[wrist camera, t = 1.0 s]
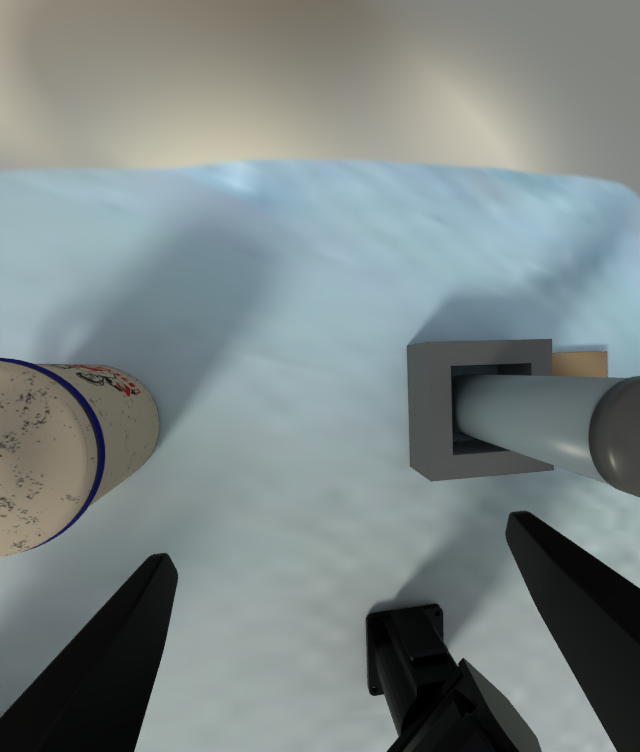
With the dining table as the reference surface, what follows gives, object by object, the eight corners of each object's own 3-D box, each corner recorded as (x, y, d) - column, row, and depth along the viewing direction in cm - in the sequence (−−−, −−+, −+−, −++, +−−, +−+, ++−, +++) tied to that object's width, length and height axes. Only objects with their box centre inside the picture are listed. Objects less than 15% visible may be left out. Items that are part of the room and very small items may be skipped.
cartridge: (492, 431, 27) (718, 496, 13) (436, 435, 27) (613, 508, 13) (491, 371, 27) (718, 374, 13) (434, 373, 26) (612, 379, 13)
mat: (602, 439, 29) (608, 440, 28) (523, 445, 28) (528, 447, 27) (601, 351, 29) (607, 351, 28) (522, 354, 28) (526, 353, 27)
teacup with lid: (167, 365, 23) (64, 361, 12) (162, 487, 24) (54, 601, 12) (-19, 355, 22) (-352, 341, 10) (-23, 488, 22) (-356, 622, 10)
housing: (518, 457, 28) (553, 470, 24) (410, 466, 26) (430, 481, 23) (516, 342, 27) (551, 339, 24) (407, 345, 26) (427, 342, 23)
